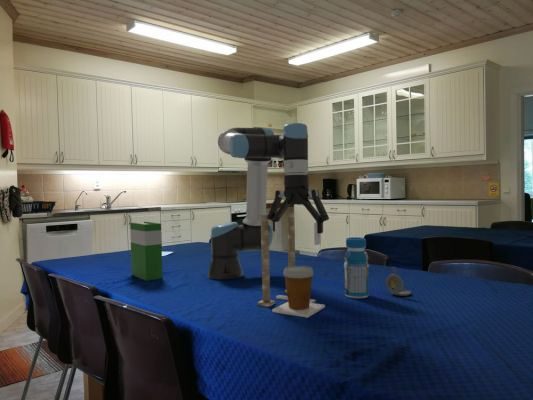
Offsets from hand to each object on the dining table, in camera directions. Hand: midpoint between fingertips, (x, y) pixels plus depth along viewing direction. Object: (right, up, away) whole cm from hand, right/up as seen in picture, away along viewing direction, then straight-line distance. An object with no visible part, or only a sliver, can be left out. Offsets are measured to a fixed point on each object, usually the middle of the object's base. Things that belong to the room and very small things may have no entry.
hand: (297, 243), depth 127 cm
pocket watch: (+36, -20, +16) cm, 44 cm away
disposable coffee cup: (+1, -20, 0) cm, 20 cm away
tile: (0, -21, 0) cm, 21 cm away
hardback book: (-63, -21, +57) cm, 88 cm away
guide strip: (0, -20, +11) cm, 23 cm away
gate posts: (-5, -20, +14) cm, 25 cm away
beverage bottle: (+22, -20, +15) cm, 33 cm away
